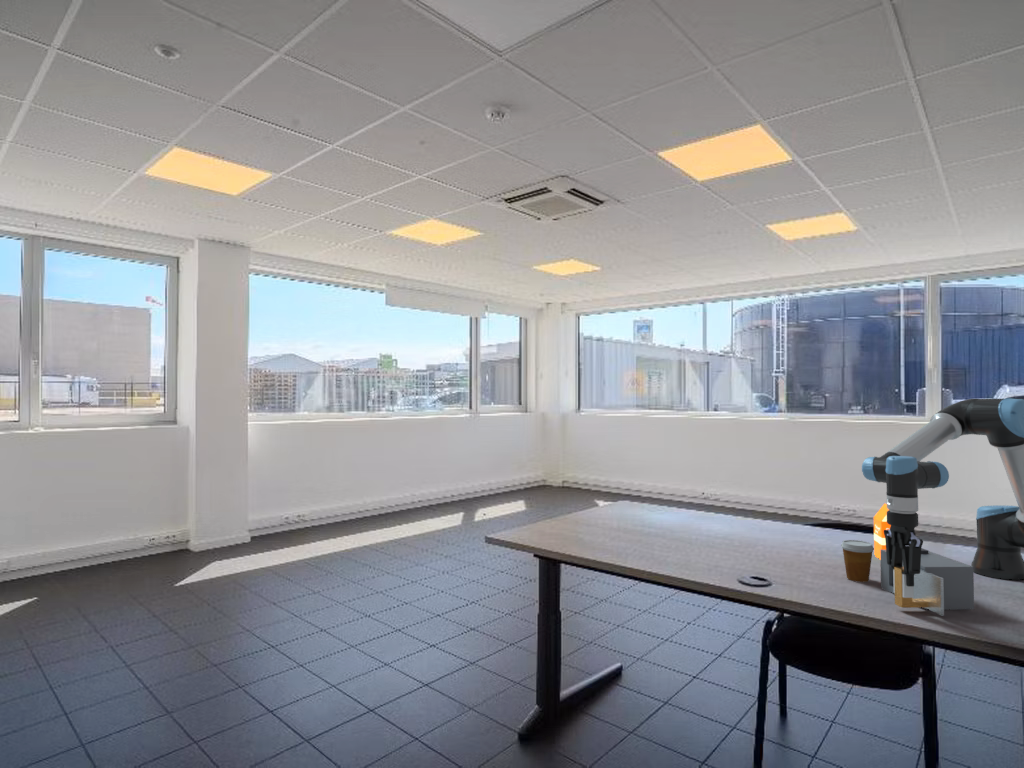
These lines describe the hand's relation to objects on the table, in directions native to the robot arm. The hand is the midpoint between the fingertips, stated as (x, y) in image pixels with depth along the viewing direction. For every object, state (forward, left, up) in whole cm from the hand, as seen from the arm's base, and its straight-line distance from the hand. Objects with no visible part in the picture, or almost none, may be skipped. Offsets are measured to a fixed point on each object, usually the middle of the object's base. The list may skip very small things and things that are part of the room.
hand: (903, 594), depth 171 cm
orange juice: (-32, -55, -5) cm, 64 cm away
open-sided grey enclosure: (-14, -11, -5) cm, 18 cm away
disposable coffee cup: (-5, -30, -5) cm, 31 cm away
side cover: (-3, 0, -4) cm, 4 cm away
